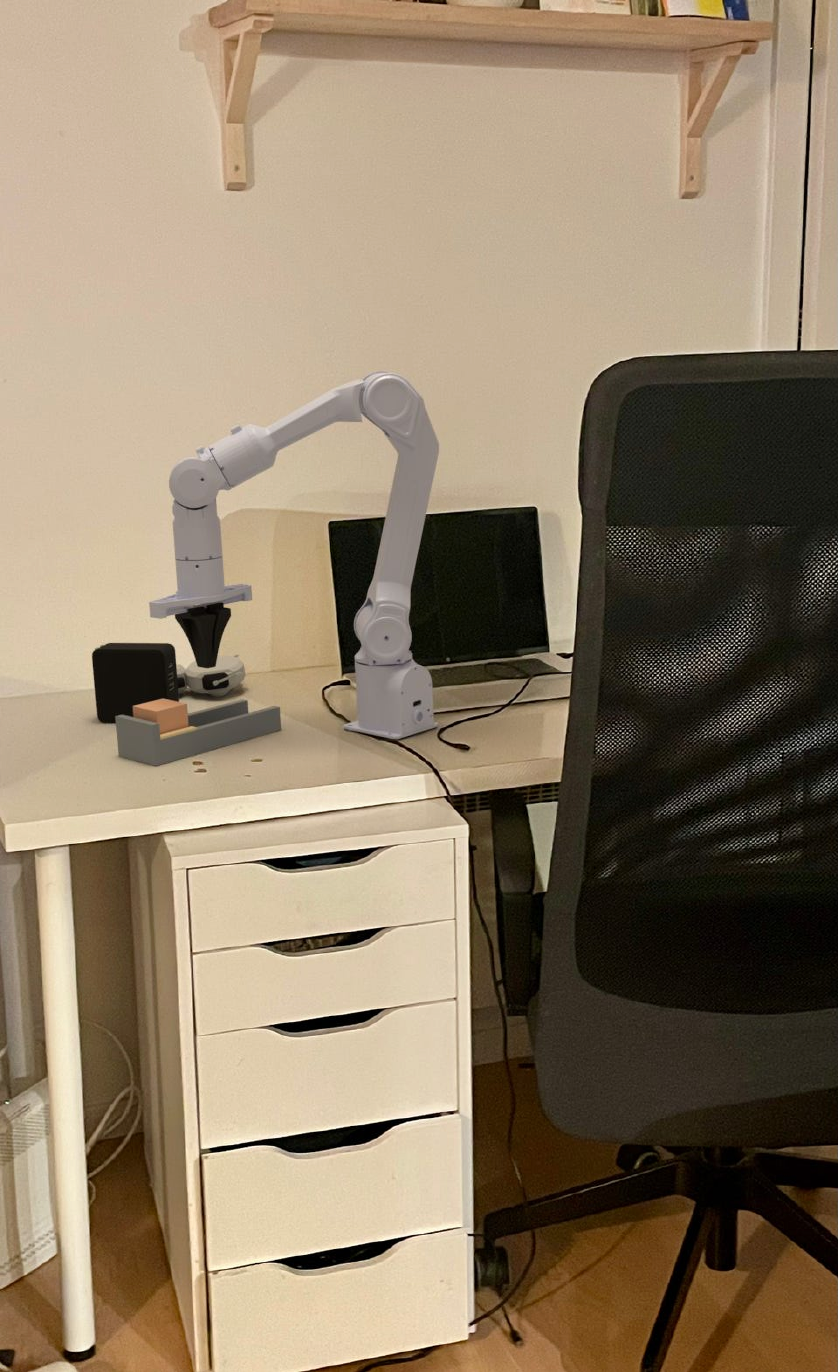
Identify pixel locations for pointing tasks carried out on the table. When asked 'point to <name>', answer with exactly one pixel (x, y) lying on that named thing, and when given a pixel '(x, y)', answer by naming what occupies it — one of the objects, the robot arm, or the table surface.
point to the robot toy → (212, 676)
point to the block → (163, 714)
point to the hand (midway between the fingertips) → (206, 666)
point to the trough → (194, 732)
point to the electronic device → (132, 677)
